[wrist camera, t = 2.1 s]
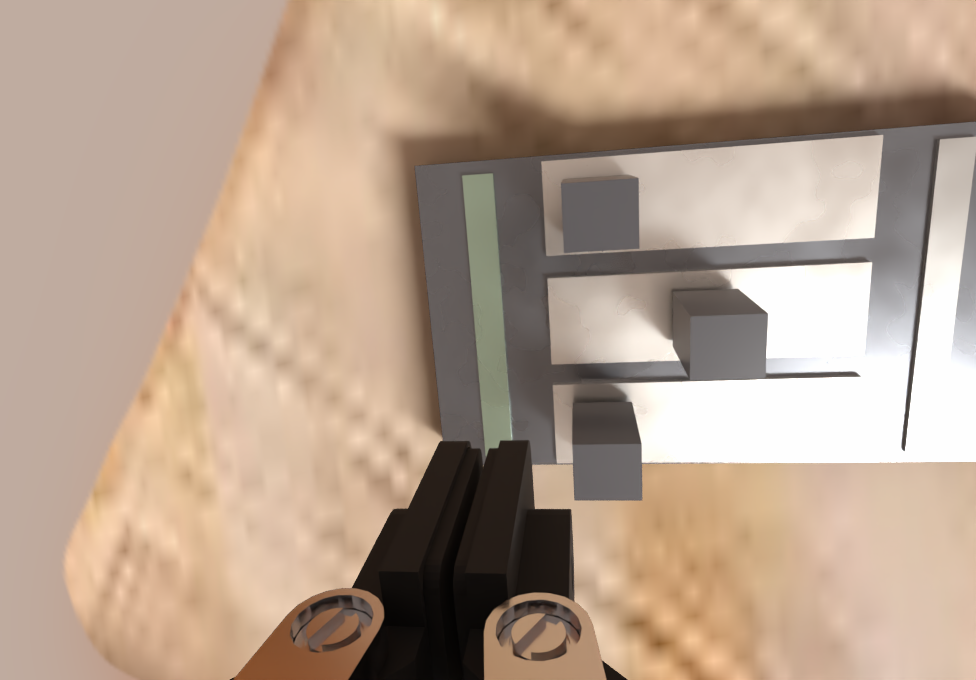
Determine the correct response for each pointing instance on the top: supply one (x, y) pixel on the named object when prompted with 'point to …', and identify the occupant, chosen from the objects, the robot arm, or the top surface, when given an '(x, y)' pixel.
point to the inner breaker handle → (606, 452)
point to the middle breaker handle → (719, 334)
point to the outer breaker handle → (600, 213)
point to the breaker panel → (712, 266)
